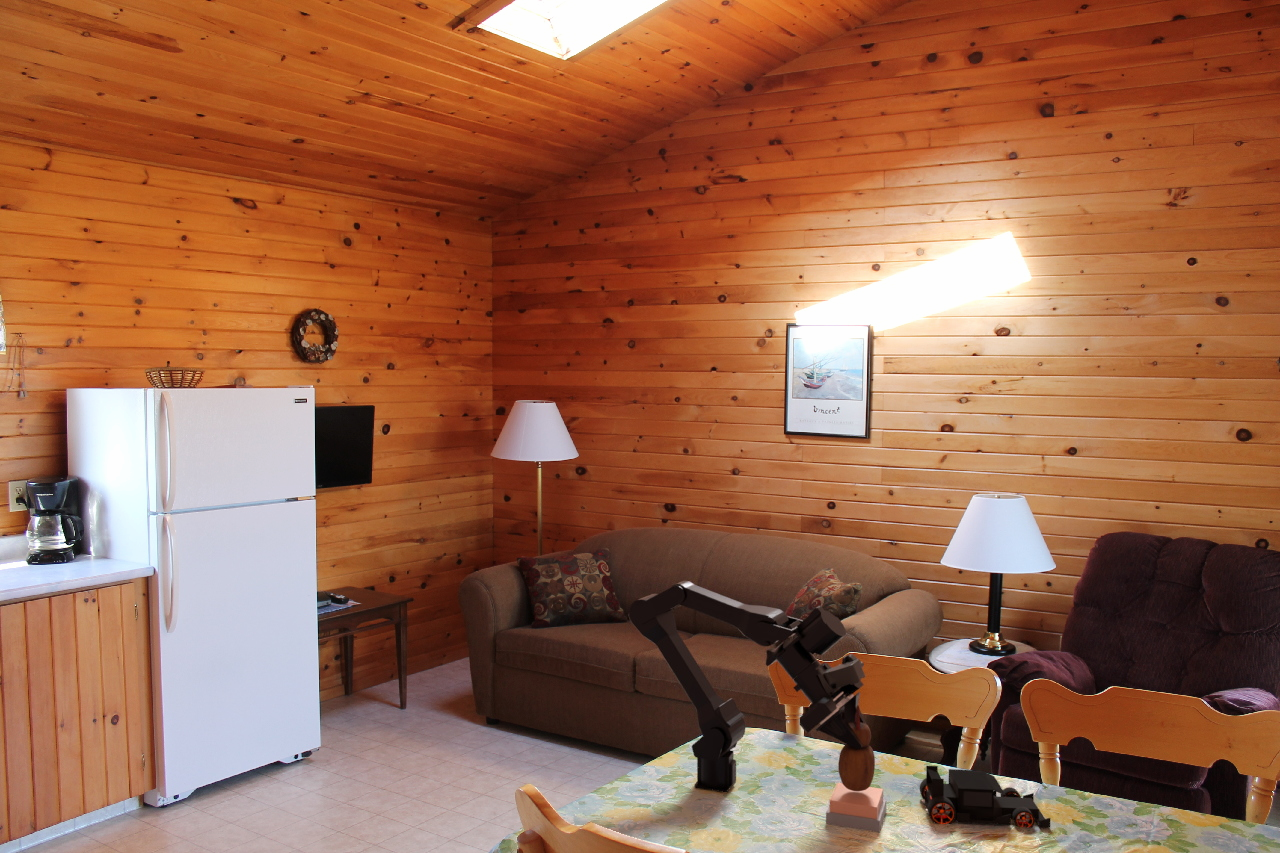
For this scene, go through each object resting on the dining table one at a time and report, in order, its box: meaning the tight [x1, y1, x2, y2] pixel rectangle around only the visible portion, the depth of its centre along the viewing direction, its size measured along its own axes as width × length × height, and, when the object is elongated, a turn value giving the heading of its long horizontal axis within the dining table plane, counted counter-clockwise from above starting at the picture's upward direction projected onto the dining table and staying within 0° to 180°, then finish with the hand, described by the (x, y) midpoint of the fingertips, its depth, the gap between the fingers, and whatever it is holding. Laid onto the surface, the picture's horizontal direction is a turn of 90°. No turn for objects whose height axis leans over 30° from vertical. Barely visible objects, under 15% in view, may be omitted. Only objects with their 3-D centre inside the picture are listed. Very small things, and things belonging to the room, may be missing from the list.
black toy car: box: [919, 765, 1051, 829], centre depth 169 cm, size 10×20×7 cm, turn 83°
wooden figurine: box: [837, 705, 876, 791], centre depth 167 cm, size 7×6×15 cm
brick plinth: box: [825, 781, 887, 833], centre depth 168 cm, size 9×9×4 cm
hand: (864, 742), depth 167 cm, fingers closed on wooden figurine, 5 cm apart
